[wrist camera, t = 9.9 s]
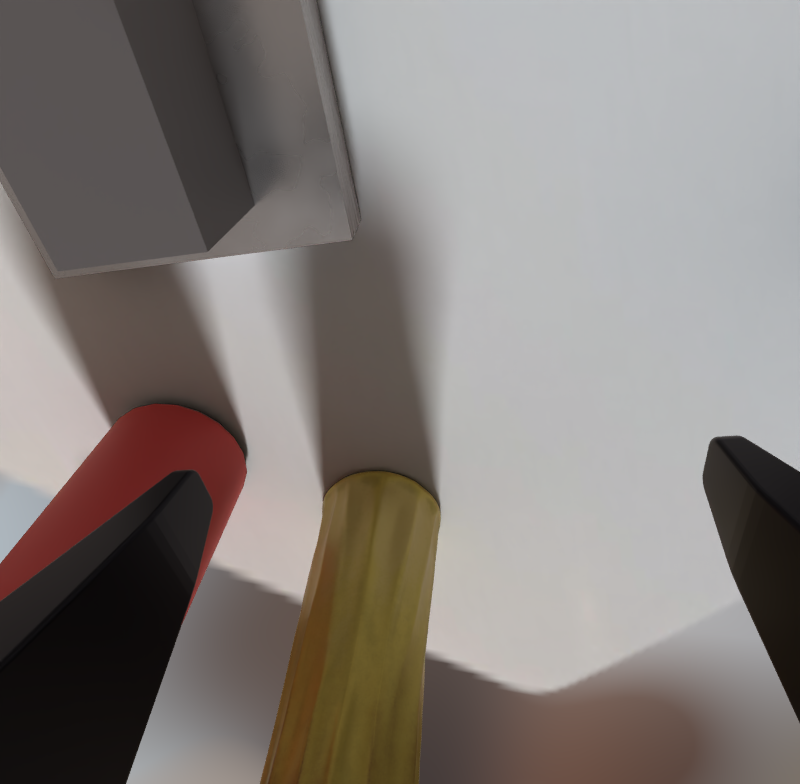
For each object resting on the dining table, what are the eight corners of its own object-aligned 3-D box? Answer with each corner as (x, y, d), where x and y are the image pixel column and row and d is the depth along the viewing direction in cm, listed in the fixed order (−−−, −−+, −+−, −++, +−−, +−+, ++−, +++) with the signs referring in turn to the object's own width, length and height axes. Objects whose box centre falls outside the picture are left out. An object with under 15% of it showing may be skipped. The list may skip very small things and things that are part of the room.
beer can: (108, 383, 25) (-119, 631, 15) (252, 411, 25) (120, 673, 15) (126, 483, 28) (-46, 732, 19) (250, 506, 29) (144, 764, 19)
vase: (409, 562, 30) (380, 907, 19) (307, 525, 29) (208, 867, 18) (461, 496, 27) (465, 868, 15) (348, 451, 26) (258, 815, 14)
